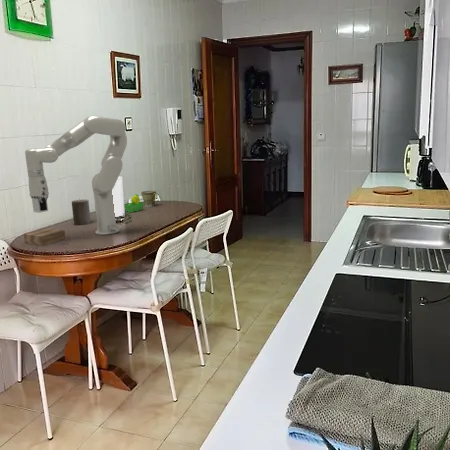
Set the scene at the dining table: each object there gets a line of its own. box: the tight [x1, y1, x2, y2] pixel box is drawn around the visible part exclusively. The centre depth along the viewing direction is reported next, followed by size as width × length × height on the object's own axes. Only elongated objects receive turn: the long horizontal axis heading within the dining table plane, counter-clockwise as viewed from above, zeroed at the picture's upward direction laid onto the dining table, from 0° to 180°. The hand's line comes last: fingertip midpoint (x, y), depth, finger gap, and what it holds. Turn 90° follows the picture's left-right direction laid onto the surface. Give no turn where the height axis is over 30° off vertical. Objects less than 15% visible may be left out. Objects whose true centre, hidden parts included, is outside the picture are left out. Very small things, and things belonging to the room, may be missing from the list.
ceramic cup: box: [140, 190, 158, 208], centre depth 335 cm, size 13×10×10 cm
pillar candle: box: [71, 198, 92, 226], centre depth 291 cm, size 10×10×15 cm
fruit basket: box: [124, 193, 144, 213], centre depth 321 cm, size 11×9×11 cm
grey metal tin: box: [31, 197, 49, 213], centre depth 249 cm, size 5×5×7 cm
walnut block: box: [23, 228, 67, 247], centre depth 252 cm, size 14×14×5 cm
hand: (40, 209), depth 249 cm, fingers closed on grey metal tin, 5 cm apart
